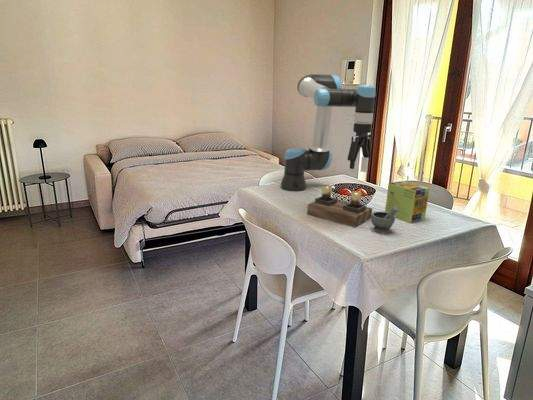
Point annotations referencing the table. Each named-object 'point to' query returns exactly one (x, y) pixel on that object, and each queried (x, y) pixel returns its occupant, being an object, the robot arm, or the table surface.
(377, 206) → the table surface
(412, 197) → the protein box
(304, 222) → the table surface
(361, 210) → the mount
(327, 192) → the knob
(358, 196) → the knob
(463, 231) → the table surface
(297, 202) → the table surface
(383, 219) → the mortar and pestle
